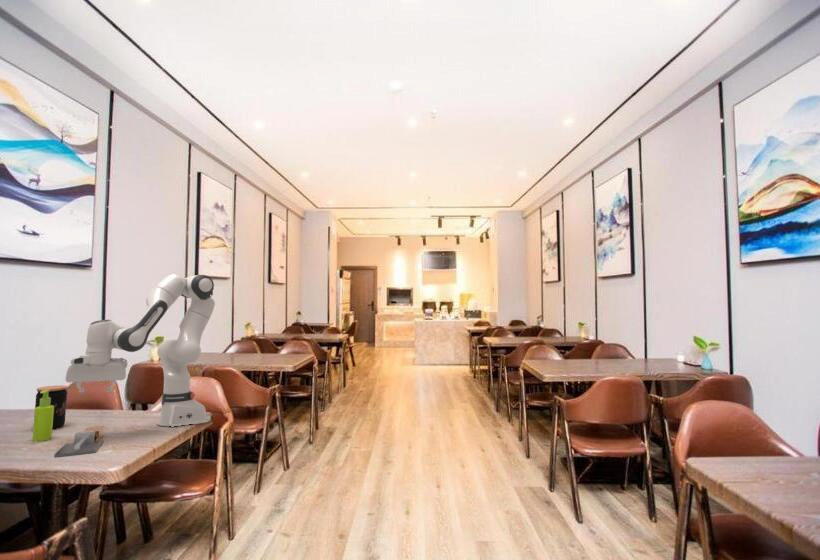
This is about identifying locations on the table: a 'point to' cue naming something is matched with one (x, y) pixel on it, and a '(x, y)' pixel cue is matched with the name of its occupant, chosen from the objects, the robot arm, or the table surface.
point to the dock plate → (83, 451)
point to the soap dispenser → (43, 418)
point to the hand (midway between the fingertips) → (95, 392)
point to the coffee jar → (55, 403)
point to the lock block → (96, 431)
